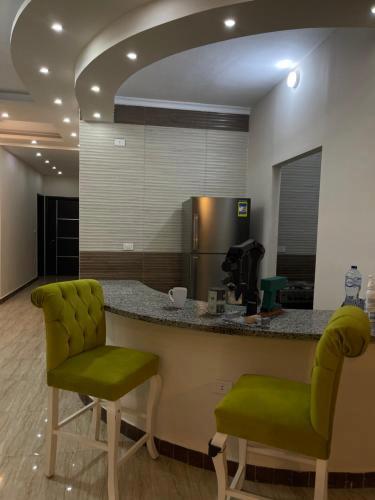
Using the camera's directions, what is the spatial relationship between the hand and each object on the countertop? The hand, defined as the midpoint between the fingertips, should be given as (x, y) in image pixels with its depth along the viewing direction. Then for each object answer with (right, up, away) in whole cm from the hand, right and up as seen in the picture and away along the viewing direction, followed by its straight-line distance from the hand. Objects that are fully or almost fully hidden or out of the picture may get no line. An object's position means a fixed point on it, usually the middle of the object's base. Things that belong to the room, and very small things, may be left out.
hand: (234, 300), depth 191 cm
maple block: (0, -2, 0) cm, 2 cm away
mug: (-31, -8, +31) cm, 45 cm away
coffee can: (-8, -10, +19) cm, 23 cm away
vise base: (+5, -11, +1) cm, 12 cm away
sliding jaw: (+11, -10, -6) cm, 17 cm away
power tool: (+29, -11, +31) cm, 44 cm away
